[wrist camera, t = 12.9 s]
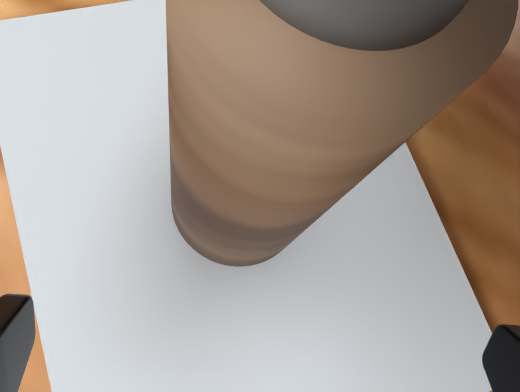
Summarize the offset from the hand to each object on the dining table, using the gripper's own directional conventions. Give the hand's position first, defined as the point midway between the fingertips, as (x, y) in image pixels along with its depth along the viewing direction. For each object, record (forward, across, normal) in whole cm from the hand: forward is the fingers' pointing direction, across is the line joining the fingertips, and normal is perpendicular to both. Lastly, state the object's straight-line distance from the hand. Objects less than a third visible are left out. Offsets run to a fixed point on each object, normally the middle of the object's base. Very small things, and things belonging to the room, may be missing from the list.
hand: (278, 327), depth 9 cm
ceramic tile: (+10, 0, +3) cm, 11 cm away
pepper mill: (+9, 0, +2) cm, 10 cm away
